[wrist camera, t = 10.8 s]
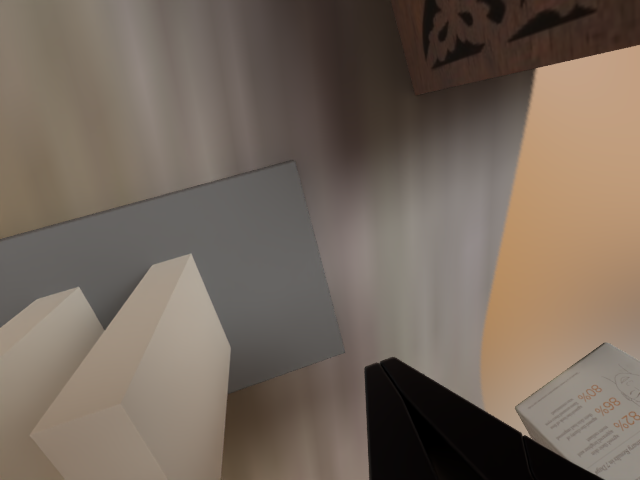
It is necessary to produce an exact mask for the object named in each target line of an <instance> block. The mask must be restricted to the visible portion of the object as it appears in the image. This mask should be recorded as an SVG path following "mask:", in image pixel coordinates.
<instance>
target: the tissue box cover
mask: <svg viewBox="0 0 640 480" xmlns="http://www.w3.org/2000/svg"><path fill="white" fill-rule="evenodd" d="M391 4H392V8H393V11H394V15H395V19H396V23H397V27H398V31H399V35H400V38H401V42H402V46H403V50H404V54H405V58H406V62H407V65H408V69H409V73H410V77H411V81H412V85H413V89H414V92H415V95H419V94H423V93H428V92H432V91H437V90H441V89H446V88H450V87H454V86H459V85H463V84H468V83H472V82H477V81H481V80H485V79H490V78H494V77H499V76H503V75H508V74H512V73H517V72H521V71H525V70H530V69H534V68H538V67H543V66H548V65H552V64H556V63H561V62H565V61H570V60H574V59H579V58H583V57H587V56H592V55H596V54H601V53H605V52H610V51H614V50H619V49H623V48H628V47H631V46H636V45H640V0H391Z"/></svg>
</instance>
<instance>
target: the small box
mask: <svg viewBox="0 0 640 480" xmlns="http://www.w3.org/2000/svg"><path fill="white" fill-rule="evenodd" d="M515 409H516V411H517V413H518V415H519V416H520V418H521V420H522V422H523V423H524V425H525V427H526V429H527V431H528V432H529V434H530V436H531V438H532V439H533V440H534V441H536V442H538V443H539V444H541V445H543V446H544V447H546V448H548V449H549V450H551V451H553V452H555V453H556V454H558V455H560V456H562V457H563V458H565V459H567V460H569V461H570V462H572V463H574V464H576V465H578V466H580V467H582V468H584V469H585V470H587V471H589V472H591V473H593V474H595V475H597V476H599V477H601V478H603V479H605V480H640V361H639V360H637V359H636V358H634V357H632V356H630V355H628V354H627V353H625V352H623V351H621V350H619V349H618V348H616V347H615V346H613V345H611V344H609V343H603V344H602V345H600V346H599V347H598V348H596V349H595V350H593V351H592V352H591V353H589V354H588V355H586V356H585V357H584V358H582V359H581V360H579V361H578V362H577V363H575V364H574V365H572V366H571V367H570V368H568V369H567V370H566V371H565V372H563V373H561V374H560V375H559V376H557V377H556V378H554V379H553V380H552V381H550V382H549V383H547V384H546V385H545V386H543V387H542V388H540V389H539V390H538V391H536V392H535V393H533V394H532V395H531V396H529V397H528V398H527V399H525V400H524V401H522V402H521V403H520V404H518V405H517V406H516V407H515Z"/></svg>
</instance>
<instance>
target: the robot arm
mask: <svg viewBox="0 0 640 480" xmlns="http://www.w3.org/2000/svg"><path fill="white" fill-rule="evenodd" d="M365 393H366V415H367V437H368V459H369V480H605V479H603V478H601V477H599V476H597V475H595V474H593V473H591V472H589V471H587V470H585V469H584V468H582V467H580V466H578V465H576V464H574V463H572V462H570V461H569V460H567V459H565V458H563V457H562V456H560V455H558V454H556V453H555V452H553V451H551V450H549V449H548V448H546V447H544V446H543V445H541V444H539V443H538V442H536V441H534V440H533V439H531V438H529V437H527V436H525V435H524V436H522V433H521V432H519V431H517V430H516V429H514V428H512V427H511V426H509V425H507V424H506V423H504V422H502V421H500V420H499V419H497V418H495V417H494V416H492V415H491V414H489V413H487V412H485V411H484V410H482V409H480V408H479V407H477V406H475V405H474V404H472V403H470V402H469V401H467V400H465V399H464V398H462V397H460V396H459V395H457V394H455V393H454V392H452V391H450V390H449V389H447V388H445V387H444V386H442V385H440V384H439V383H437V382H435V381H434V380H432V379H430V378H429V377H427V376H425V375H424V374H422V373H420V372H419V371H417V370H415V369H414V368H412V367H410V366H409V365H407V364H405V363H404V362H402V361H400V360H399V359H397V358H395V357H391V358H388V359H385V360H383V361H381V362H380V364H379V363H374V364H372V365H369V366H366V367H365Z"/></svg>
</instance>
